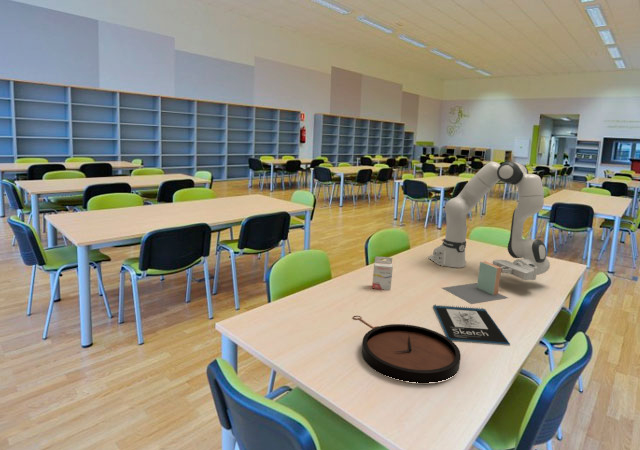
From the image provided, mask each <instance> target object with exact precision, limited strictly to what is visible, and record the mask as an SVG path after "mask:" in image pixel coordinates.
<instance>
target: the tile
mask: <svg viewBox="0 0 640 450" xmlns="http://www.w3.org/2000/svg"><path fill="white" fill-rule="evenodd" d="M501 274H502V273H501V267H498V266H496V265H493V263H490V262H488V261H486V260H483V261H480V262H479V267H478V277H477V282H476V283H477V288H479V289H481V290H483V291H485V292H487V293H489V294H492V295H497V294H498V293H499V288H500V281H501Z"/></svg>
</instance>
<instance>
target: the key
mask: <svg viewBox="0 0 640 450" xmlns="http://www.w3.org/2000/svg"><path fill="white" fill-rule="evenodd" d="M362 318H363V317H362V316H361V315H354V316H352V319H353V320H355V321H360V322H361V323H363V324H364V325H366V326H367V327H369V328H371V330H372V329H374V328H376V327H379V326H380V325H377V326H372V325H371V324H370V323H368V322H366V321H365V320H363V319H362Z"/></svg>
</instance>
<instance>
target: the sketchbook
mask: <svg viewBox="0 0 640 450" xmlns="http://www.w3.org/2000/svg"><path fill="white" fill-rule="evenodd" d="M432 308H433V311H434V313H435V316H436V317H437V319H438V322H439V324H440V327H441V329H442V331H443V334H444V336H445V337H447V338H448V339H450V340H451V341H452V342H458V341H459V342H461V343H471V342H472V344H486V345H488V344H489V345H496V346H497V345H498V346H511V343H510V342H509V340H508V339H507V338H506V336H505V334H504V333H503V332H502V331H501V329H500V328H499V326H498V325H497V324H496V322H495V321H494V320H493V317H491V314H489V313H488V311H487V310H486V308H484V307H472V306H470V307H469V306H459V305H458V306H457V305H437V304H434V305H432ZM459 342H458V343H459Z"/></svg>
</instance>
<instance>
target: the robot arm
mask: <svg viewBox="0 0 640 450" xmlns="http://www.w3.org/2000/svg"><path fill="white" fill-rule="evenodd" d="M500 181H501V182H503V183H505V184H508V185H514V186H516V187H517V189H518V201H517V202H518V203H517V206H516V208H515V209H514V210H513V213H512V217H511V225H510V234H509V241H508V243H507V252H508V254H509V255H510V257H511V258H514V259H515V260H514V261H513V262H512V261H509V260H507V259H494V260H493V261H492V264H493V265H496V266H498V267H501V274H509V275H512V276H513V277H516V278H519V279H522V280H524V281H530V280H532V281H536V279H537V276H538V275H542V274H545V273H546V272H548V271H549V269H550V268H551V267H550V266H551V264H550V263H551V262H550V260H549V259H548V258H547V247H546V245H545V243H544V242H543V240H540V239H539V238H538V239H535V238H533V239H532V238H529V239H528V238H523V235H524V234H523V231H524V225H525V222H526V220H527V219H529V218H530V217H532V216H534V215H536V214H538V213H539V212H540V211H542V209H543V207H544V202H545V199H544V197H545V196H544V186H543V183H542V178H541V177H540V176H539V174H538V175H537V174H534V173H529V170H528V167H526V166H525V164H523V163H519V162H516V161H505V162H503V163H501V164H500V163H498V162H496V161H490V162H488V163H486V164H485V165H484V166H483V167H482V168H480V169H479V170H478V171H477V172H476V173H475V174H474V175H473V176H472V178H471V179H470V180H468V182H466V184H465V185H464V187H463V189H462V190H461V191H460V192H459V193H458V195H456V196H455V197H453V198H451V199H449V200H448V201H447V202H446V204H445V206H444V212H445V220H446V229H445V238H442V239H441V241H442V242H441V243H442V244H441V245H438V246H437V247H435V248H434V249H433V251H432V255H429V256H428V257H427V258H428V259H429V260H430V259H431V261H432V262H433V261H434V263H435V264H437V265H438V266H440V265H441V267H449V268H464V267H466V266H467V264H466V263H467V261H466V248H467V247H466V246H467V240H466V239H467V231H468V226H467V214H469V213H470V212H471V211H472V210H473V209H474V208H475V207H476V206H477V204H478V203H479V202H480V201H481V200H482V198H484V196H485V195H486V194H487V193H489V191H490V190H491V189H492V188H493V187H494V186H495V185H496V184H497V183H498V182H500Z"/></svg>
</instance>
